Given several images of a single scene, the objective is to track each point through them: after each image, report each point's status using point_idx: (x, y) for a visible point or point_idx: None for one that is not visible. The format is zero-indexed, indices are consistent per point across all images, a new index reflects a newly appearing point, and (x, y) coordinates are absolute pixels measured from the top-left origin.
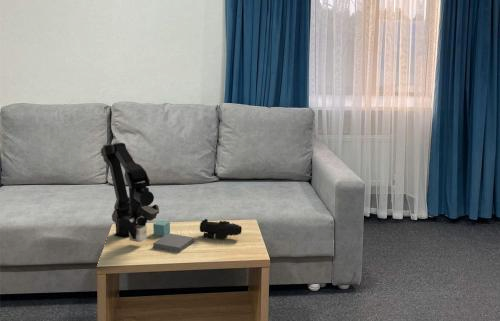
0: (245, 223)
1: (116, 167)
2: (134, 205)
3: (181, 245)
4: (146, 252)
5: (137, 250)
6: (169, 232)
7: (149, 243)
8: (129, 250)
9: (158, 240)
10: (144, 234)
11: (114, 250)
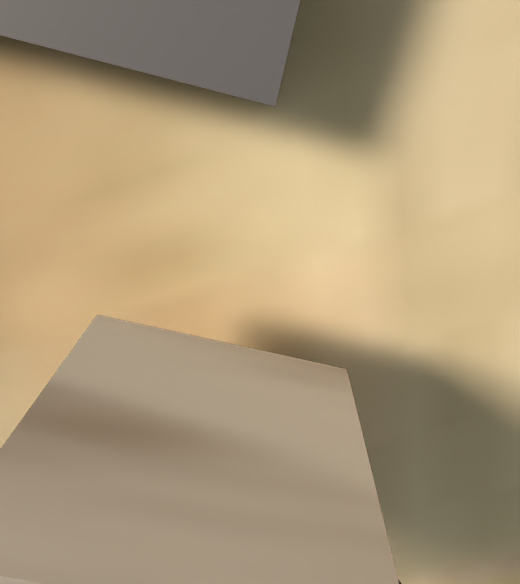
0: None
1: None
2: None
3: None
4: (511, 154)
5: (420, 322)
6: None
7: (93, 236)
8: (424, 418)
9: (82, 23)
10: (161, 401)
11: (429, 554)
